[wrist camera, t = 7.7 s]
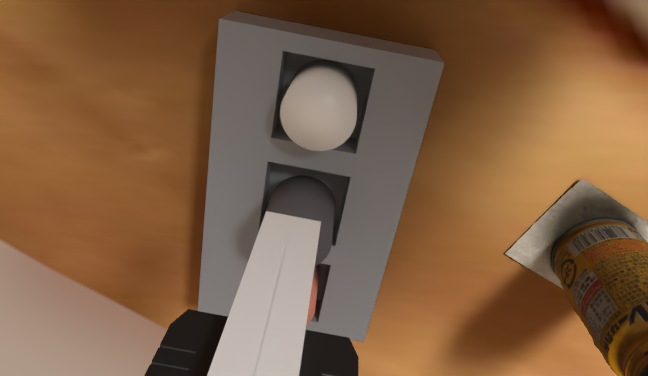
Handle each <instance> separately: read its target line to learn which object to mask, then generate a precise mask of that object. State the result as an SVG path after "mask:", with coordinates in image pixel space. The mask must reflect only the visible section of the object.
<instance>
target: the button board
mask: <svg viewBox="0 0 648 376" xmlns="http://www.w3.org/2000/svg"><path fill="white" fill-rule="evenodd" d="M320 60H325V61H331V62H335V63H337V64H339V65H341V66H343V67H344V68H345V69H346V70H347V71H348V72H349V73H350V74H351V75H352V77H353V79H354V81H355V83H356V87H357V120H356V125H355V128H354V130H353V132H352V134H351V135H350V137H349V138H348V139H347V140H346V141H345V142H344V143H343V144H341V145H340V146H338V147H336V148H334V149H331V150H327V151H312V150H308V149H305V148H303V147H301V146H299V145H297V144H296V143H295V142H293V141H292V140H291V139H290V138H289V136H288V135H287V134H286V132H285V130H284V128H283V126H282V123H281V118H280V108H281V103H282V100H283V98H284V96H285V94H286V92H287V90H288V88H289V86H290V84H291V82H292V80H293V78H294V77H295V75H296V74H297V72H298V71H299V70H300V69H301V68H302V67H304V66H305V65H307V64H309V63H311V62H315V61H320ZM444 64H445V62H444V61H443V59H442V58H441V57H440V56H439V54H438V53H437V52H436V50H433V49H428V48H423V47H418V46H413V45H408V44H403V43H398V42H392V41H387V40H382V39H377V38H372V37H367V36H362V35H357V34H352V33H346V32H341V31H336V30H331V29H326V28H321V27H316V26H311V25H306V24H300V23H295V22H290V21H285V20H280V19H275V18H270V17H265V16H259V15H254V14H249V13H244V12H239V11H234V12H232V13H229V14H227V15H225V16H223V17H221V18H219V26H218V39H217V53H216V67H215V80H214V94H213V107H212V121H211V135H210V148H209V162H208V176H207V189H206V203H205V216H204V230H203V244H202V257H201V271H200V285H199V298H198V311H201V312H206V313H211V314H217V315H222V316H227V317H228V316H229V313H230V310H231V308H232V305H233V302H234V299H235V297H236V294H237V291H238V288H239V285H240V283H241V280H242V277H243V274H244V272H245V269H246V266H247V263H248V260H249V258H250V255H251V252H252V249H253V246H254V244H255V241H256V238H257V235H258V233H259V230H260V227H261V224H262V221H263V219H264V216H265V213H266V210H267V208H268V205H269V202H270V199H271V196H272V194H273V191H274V190H275V188H276V187H277V185H278V184H279V183H281V182H282V181H283V180H285V179H287V178H290V177H293V176H299V175H304V176H310V177H313V178H316V179H318V180H320V181H322V182H323V183H324V184H325V185H327V187H328V188H329V189H330V190H331V192H332V194H333V196H334V199H335V216H334V227H333V237H332V246H331V250H330V252H329V254H328V256H327V257H326V258H325V259H324V260H323V261H322V262H321V263H320V264H319V268H320V274H319V282H318V290H317V298H316V306H315V313H314V316H313V318H312V320H311V321H310V322H309V323H308V324H307V325H306V330H311V331H316V332H321V333H327V334H332V335H337V336H343V337H348V338H349V339H350V340H356V341H361V342H364V340H365V337H366V333H367V330H368V327H369V323H370V320H371V316H372V313H373V309H374V306H375V302H376V299H377V295H378V292H379V289H380V285H381V282H382V278H383V275H384V271H385V268H386V264H387V261H388V257H389V254H390V251H391V247H392V244H393V240H394V237H395V233H396V230H397V226H398V223H399V219H400V216H401V213H402V209H403V206H404V202H405V199H406V195H407V192H408V188H409V185H410V181H411V178H412V175H413V171H414V168H415V164H416V161H417V157H418V154H419V150H420V147H421V144H422V140H423V137H424V133H425V130H426V126H427V123H428V119H429V116H430V112H431V109H432V106H433V102H434V99H435V95H436V92H437V88H438V85H439V81H440V78H441V74H442V71H443V68H444Z"/></svg>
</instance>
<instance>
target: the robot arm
mask: <svg viewBox="0 0 648 376" xmlns="http://www.w3.org/2000/svg"><path fill="white" fill-rule="evenodd" d="M320 226H321V221H315V220H310V219H305V218H300V217H294V216H289V215H284V214H279V213H273V212H268V211H266V213H265V216H264V219H263V221H262V224H261V227H260V230H259V233H258V235H257V238H256V241H255V244H254V246H253V249H252V252H251V255H250V258H249V260H248V263H247V266H246V269H245V272H244V274H243V277H242V280H241V283H240V285H239V288H238V291H237V294H236V297H235V299H234V302H233V305H232V308H231V310H230V313H229V316H228V317H227V316H222V315H217V314H211V313H206V312H201V311H195V310H190V309H188V310H187V311H186V312H185V313H183V314H182V315H181V316H180V317H179V318H177V319H176V320H175V321H174V322H173V323H171V324H170V326H169V328H168V330H167V332H166V334H165V336H164V338H163V340H162V342H161V344H160V348H158V350H157V352H156V354H155V356H154V358H153V360H152V363H151V365H150V366H149V368H148V370H147V372H146V374H145V376H358V356H357V354H356V352H355V349H354V347H353V345H352V343H351V341H350V339H349V338H348V337H343V336H337V335H332V334H327V333H321V332H316V331H311V330H306V323H307V316H308V309H309V302H310V295H311V289H312V282H313V275H314V268H315V261H316V254H317V247H318V240H319V233H320Z"/></svg>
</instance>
